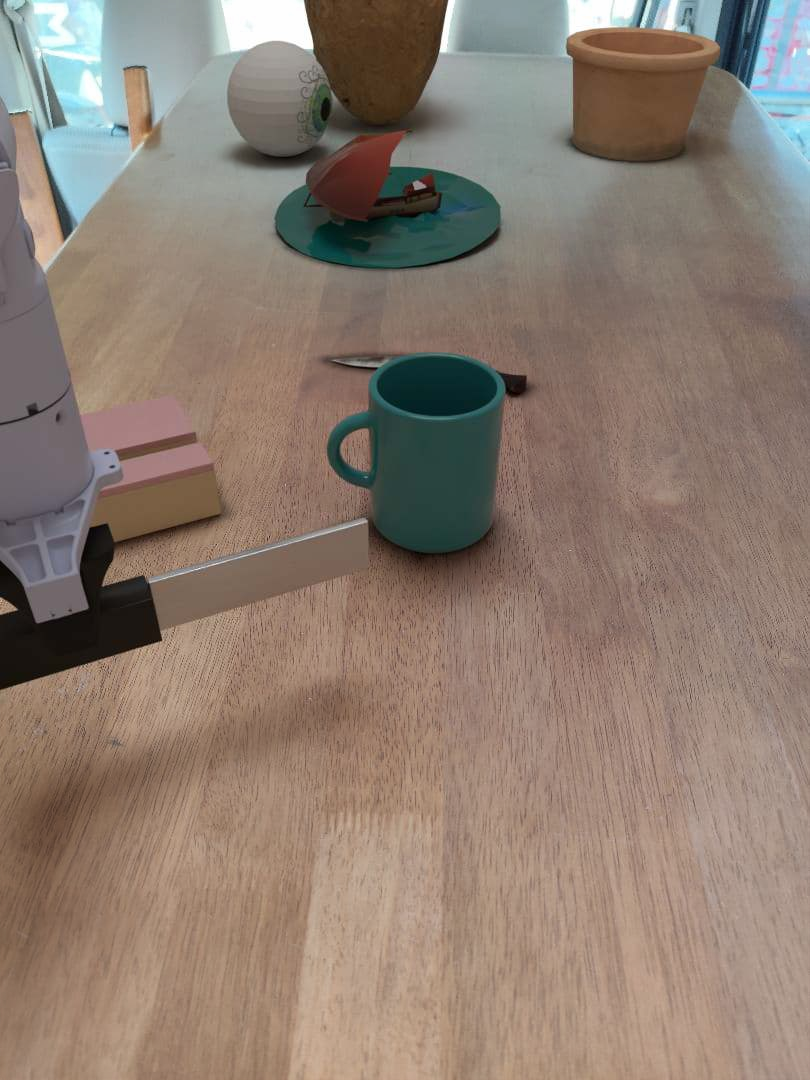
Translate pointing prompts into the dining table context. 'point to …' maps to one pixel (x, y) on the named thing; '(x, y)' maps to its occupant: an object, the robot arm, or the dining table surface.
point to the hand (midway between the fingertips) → (72, 630)
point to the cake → (139, 428)
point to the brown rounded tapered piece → (377, 52)
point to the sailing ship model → (384, 209)
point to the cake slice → (159, 492)
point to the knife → (511, 381)
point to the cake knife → (188, 597)
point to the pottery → (636, 89)
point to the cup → (429, 450)
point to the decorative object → (279, 98)
